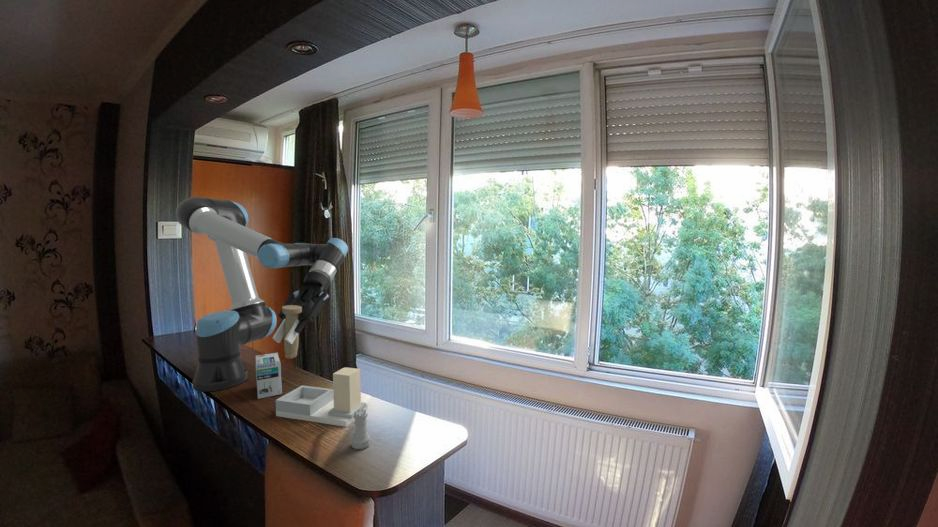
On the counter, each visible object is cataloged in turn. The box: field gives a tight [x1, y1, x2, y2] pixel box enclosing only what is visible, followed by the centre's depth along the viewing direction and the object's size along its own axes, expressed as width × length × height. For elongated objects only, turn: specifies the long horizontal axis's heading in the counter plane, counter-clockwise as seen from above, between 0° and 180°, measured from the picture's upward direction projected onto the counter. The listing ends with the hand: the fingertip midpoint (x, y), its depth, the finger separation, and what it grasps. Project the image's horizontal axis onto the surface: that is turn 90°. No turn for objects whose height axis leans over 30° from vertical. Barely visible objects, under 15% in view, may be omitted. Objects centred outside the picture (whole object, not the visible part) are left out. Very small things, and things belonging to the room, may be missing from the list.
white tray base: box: [275, 366, 368, 428], centre depth 98 cm, size 22×10×12 cm, turn 75°
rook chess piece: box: [350, 409, 372, 450], centre depth 82 cm, size 4×4×8 cm
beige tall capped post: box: [281, 305, 303, 359], centre depth 104 cm, size 5×6×15 cm
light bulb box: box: [254, 352, 283, 400], centre depth 112 cm, size 11×7×11 cm, turn 32°
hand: (282, 341), depth 100 cm, fingers closed on beige tall capped post, 4 cm apart
